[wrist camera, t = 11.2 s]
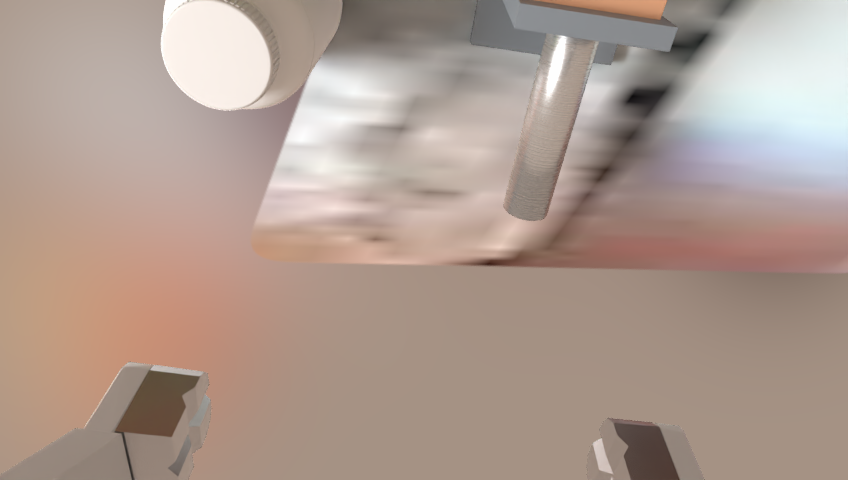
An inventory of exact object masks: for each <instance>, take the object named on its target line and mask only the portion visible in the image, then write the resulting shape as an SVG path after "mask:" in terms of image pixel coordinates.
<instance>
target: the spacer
mask: <svg viewBox="0 0 848 480" xmlns="http://www.w3.org/2000/svg"><path fill="white" fill-rule="evenodd" d="M535 1H542V2H548V3H554V4H561V5H567V6H574V7H580V8H586V9H593V10H599V11H606V12H612V13H619V14H625V15H631V16H638V17H644V18H651V19H657V20H660V19H661V16H662V13H663V11H664V8H665V5H666V2H667V0H535Z"/></svg>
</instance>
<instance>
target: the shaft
mask: <svg viewBox="0 0 848 480" xmlns="http://www.w3.org/2000/svg"><path fill="white" fill-rule="evenodd" d="M598 44H599V41H594V40H587V39H581V38H574V37H568V36H561V35H554V34H548V33H546V36H545V40H544V44H543V48H542V52H541V56H540V60H539V64H538V68H537V72H536V76H535V80H534V84H533V88H532V92H531V96H530V100H529V104H528V108H527V112H526V116H525V120H524V124H523V128H522V132H521V136H520V140H519V144H518V148H517V152H516V156H515V160H514V164H513V168H512V172H511V176H510V180H509V184H508V188H507V192H506V196H505V200H504V204H503V206H504V209H505V210H506V211H507V212H508V213H509V214H511V215H512V216H514V217H517V218H519V219H523V220H528V221H538V220H542V219H544V218H545V217H546V216H547V213H548V209H549V206H550V203H551V199H552V196H553V193H554V189H555V186H556V183H557V180H558V176H559V173H560V170H561V166H562V163H563V160H564V156H565V153H566V150H567V146H568V143H569V140H570V137H571V133H572V130H573V127H574V123H575V120H576V117H577V113H578V110H579V107H580V103H581V100H582V97H583V93H584V90H585V87H586V84H587V80H588V77H589V74H590V70H591V67H592V64H593V60H594V57H595V54H596V50H597V47H598Z"/></svg>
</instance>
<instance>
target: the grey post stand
mask: <svg viewBox="0 0 848 480" xmlns="http://www.w3.org/2000/svg"><path fill="white" fill-rule="evenodd" d="M677 30H678V27H676V26H675V25H674V24H672V23H671V22H670V21H668V20H667V19H665V18H664V17H663V16H661V19H660V20H657V19H651V18H644V17H638V16H631V15H625V14H619V13H612V12H606V11H599V10H593V9H586V8H580V7H574V6H567V5H561V4H554V3H548V2H542V1H535V0H477V6H476V11H475V17H474V22H473V28H472V33H471V39H470V42H471V44H473V45H479V46H486V47H492V48H499V49H506V50H512V51H519V52H526V53H532V54H539V55H541V52H542V48H543V44H544V40H545V36H546V33H548V34H554V35H561V36H568V37H574V38H581V39H587V40H594V41H599V44H598V47H597V50H596V54H595V57H594V60H593V63H599V64H606V65H611V63H612V60H613V57H614V54H615V51H616V48H617V45H618V44H620V45H627V46H633V47H640V48H646V49H653V50H659V51H666V52H669V51H670V48H671V46H672V43H673V40H674V38H675V35H676V32H677Z"/></svg>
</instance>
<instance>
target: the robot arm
mask: <svg viewBox="0 0 848 480" xmlns="http://www.w3.org/2000/svg"><path fill="white" fill-rule="evenodd" d="M208 386H209V379H208V373H206V372H200V371H193V370H187V369H180V368H173V367H165V366H159V365H150V364H142V363H134V362H128V363H127V364H126V365H125V366H123V367H122V368H121V370H120V371H119V373H118V375H117V376H116V378H115V379H114V381H113V382H112V384H111V386H110V387H109V389H108V390H107V392H106V394H105V395H104V397H103V398H102V400H101V402H100V403H99V405H98V406H97V408H96V410H95V411H94V413H93V414H92V416H91V418H90V419H89V421H88V422H87V424H86V425H85V427H84V429H78V428H77V429H76V428H75V429H73V430H72V431H70V432H68V433H67V434H65V435H64V436H62V437H60V438H59V439H57V440H56V441H54V442H52V443H51V444H49V445H47V446H46V447H44V448H43V449H41V450H39V451H38V452H36V453H35V454H33V455H31V456H30V457H28V458H26V459H25V460H23V461H22V462H20V463H18V464H17V465H15V466H13V467H12V468H10V469H9V470H7V471H5V472H4V473H2V474H1V475H0V480H189V477H190V475H191V472H192V470H193V468H194V464H193V455H192V454H193V453H194V452H196V450H198V449H200V448H201V447H202V445H203V443H204V440H205V438H206V435H207V431H208V427H209V423H210V418H211V400H210V399H209V398H208V397H207V396H206V395H205V393H206V391H207V389H208ZM599 431H600V434H601V438H600V439H599V440H597V441H595V442H594V443H592V446H591V448H590V451H589V453H588V459H587V477H588V480H705V479H704V477H703V474H702V472H701V470H700V467H699V465H698V463H697V461H696V458H695V456H694V454H693V451H692V449H691V447H690V445H689V442H688V440H687V437H686V435H685V433H684V430H683V429H681V427H680V426H675V425H666V424H657V423H652V422H642V421H632V420H623V419H613V418H607V419H606V420H605V421H603V423H602V425H601V427H600V429H599Z"/></svg>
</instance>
